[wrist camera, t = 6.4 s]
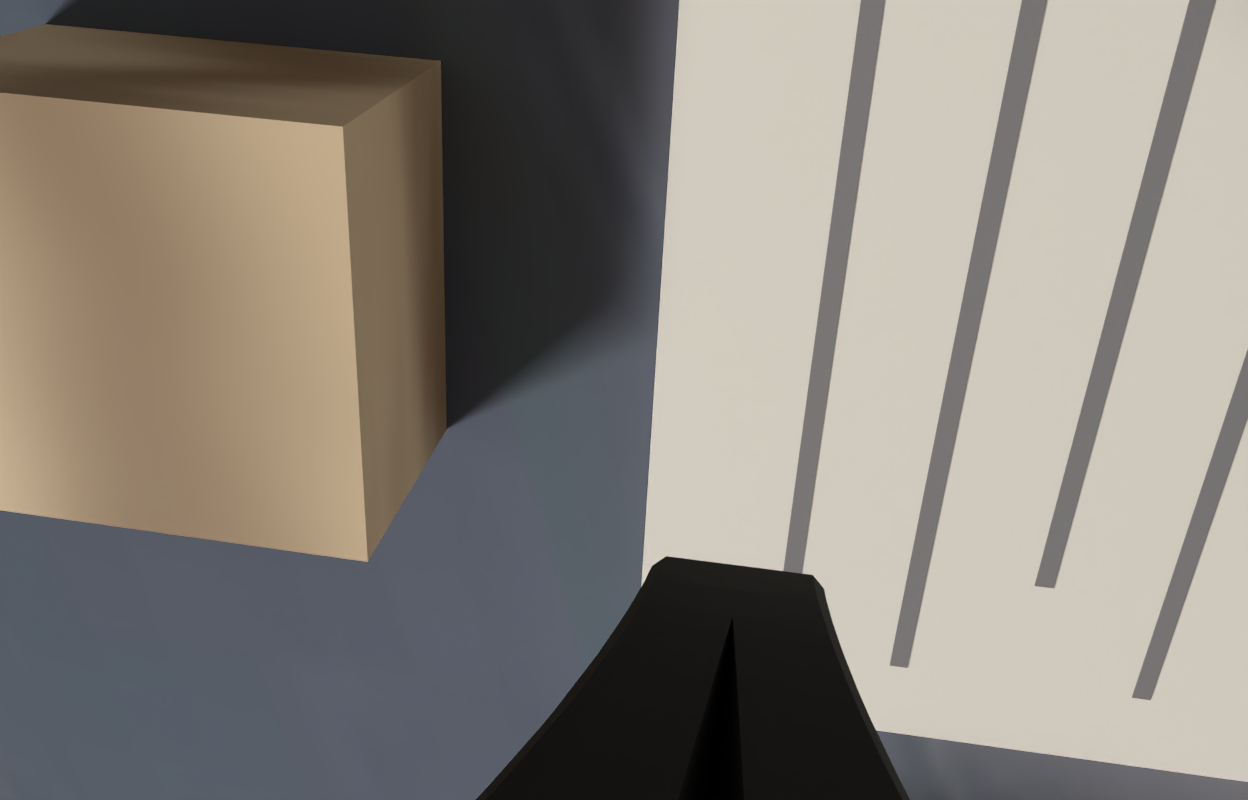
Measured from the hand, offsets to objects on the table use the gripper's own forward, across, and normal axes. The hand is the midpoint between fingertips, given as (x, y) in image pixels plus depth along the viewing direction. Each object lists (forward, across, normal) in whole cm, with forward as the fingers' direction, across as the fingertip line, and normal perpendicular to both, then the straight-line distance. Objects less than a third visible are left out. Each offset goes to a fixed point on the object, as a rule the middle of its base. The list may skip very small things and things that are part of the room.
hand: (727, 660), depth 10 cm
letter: (+8, -4, 0) cm, 9 cm away
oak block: (+8, +8, 0) cm, 12 cm away
